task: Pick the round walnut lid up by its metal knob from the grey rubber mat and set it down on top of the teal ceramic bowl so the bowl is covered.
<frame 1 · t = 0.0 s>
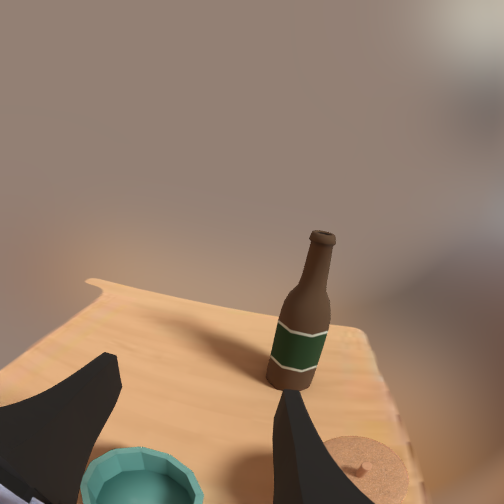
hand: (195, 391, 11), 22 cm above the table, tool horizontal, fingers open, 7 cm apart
beer bottle: (288, 379, 45), on the table
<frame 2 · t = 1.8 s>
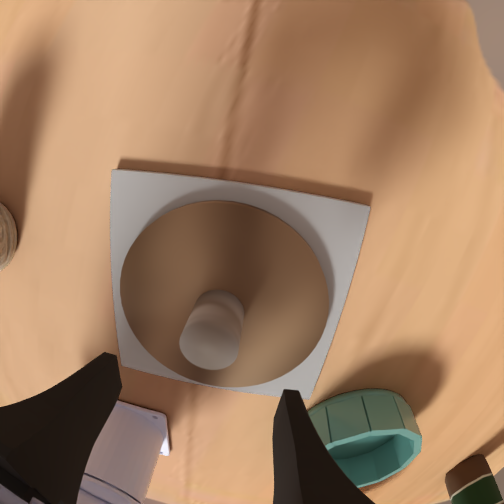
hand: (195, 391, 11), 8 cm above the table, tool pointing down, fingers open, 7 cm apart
carving: (1, 228, 19), on the table
mat: (222, 300, 19), on the table
bowl: (352, 427, 23), on the table
lid: (221, 305, 18), point 1 cm above the table, touching mat
beer bottle: (463, 466, 28), on the table
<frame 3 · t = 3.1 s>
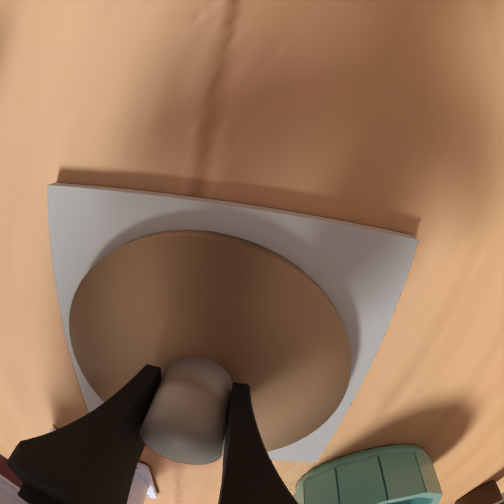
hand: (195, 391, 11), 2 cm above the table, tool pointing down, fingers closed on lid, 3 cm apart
mat: (204, 361, 13), on the table
bowl: (363, 479, 17), on the table
lid: (201, 369, 13), point 1 cm above the table, touching gripper, mat
beer bottle: (473, 492, 23), on the table
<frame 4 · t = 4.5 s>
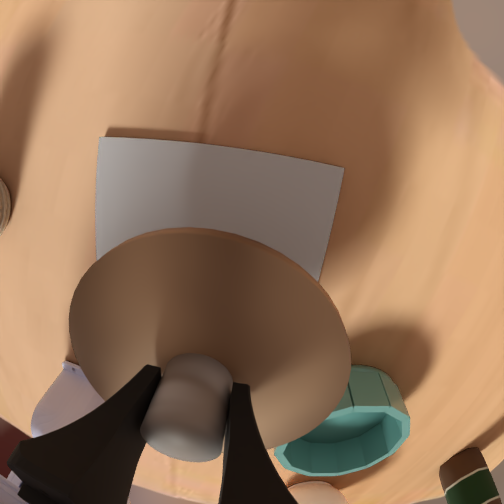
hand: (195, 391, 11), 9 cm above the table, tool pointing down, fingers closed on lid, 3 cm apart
lidded jar: (309, 488, 30), on the table
mat: (200, 263, 19), on the table
bowl: (337, 408, 23), on the table
lid: (201, 367, 13), point 7 cm above the table, touching gripper
beer bottle: (457, 459, 29), on the table
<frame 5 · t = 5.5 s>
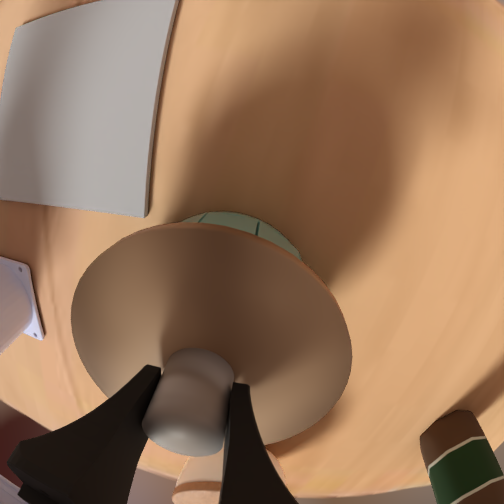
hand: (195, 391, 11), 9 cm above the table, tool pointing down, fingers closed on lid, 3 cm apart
lidded jar: (237, 448, 27), on the table
mat: (64, 100, 16), on the table
bowl: (224, 293, 20), on the table
lid: (203, 361, 13), point 7 cm above the table, touching gripper
beer bottle: (444, 427, 25), on the table
when the fingers open (7 cm above the table, at t = 6.2 s): lid stays where it is, resting on bowl.
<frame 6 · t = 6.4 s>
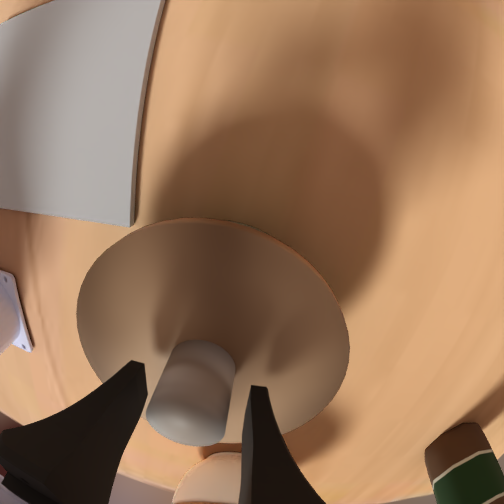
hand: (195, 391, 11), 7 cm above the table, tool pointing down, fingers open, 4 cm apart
lidded jar: (235, 463, 25), on the table
mat: (46, 99, 14), on the table
lid: (205, 354, 13), point 4 cm above the table, touching bowl
beer bottle: (450, 440, 23), on the table
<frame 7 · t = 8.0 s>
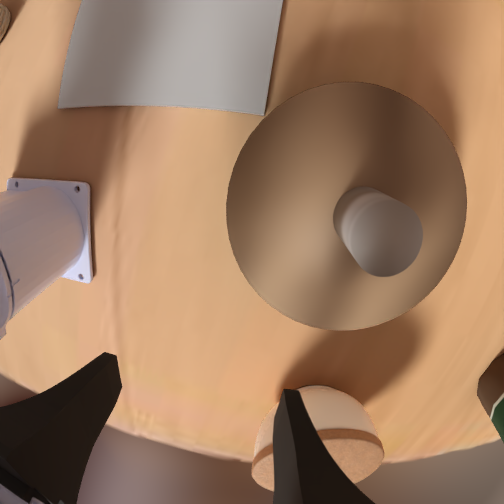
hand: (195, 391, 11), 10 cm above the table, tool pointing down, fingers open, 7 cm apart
lidded jar: (311, 404, 26), on the table
mat: (169, 7, 14), on the table
lid: (358, 213, 14), point 4 cm above the table, touching bowl
beer bottle: (497, 371, 25), on the table
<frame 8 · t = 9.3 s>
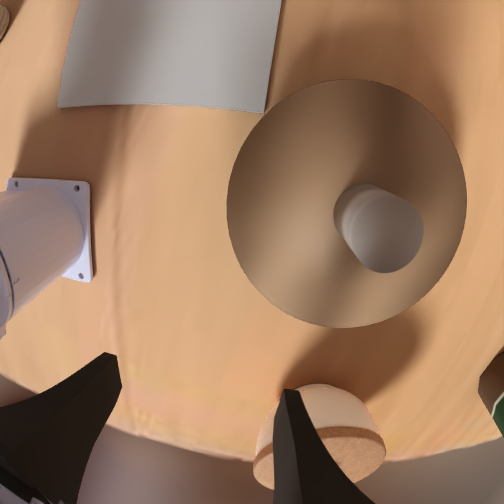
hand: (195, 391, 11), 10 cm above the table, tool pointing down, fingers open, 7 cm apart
lidded jar: (312, 402, 26), on the table
mat: (168, 6, 14), on the table
lid: (358, 210, 14), point 4 cm above the table, touching bowl
beer bottle: (498, 369, 25), on the table
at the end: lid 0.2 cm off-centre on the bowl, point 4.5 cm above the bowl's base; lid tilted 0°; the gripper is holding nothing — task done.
